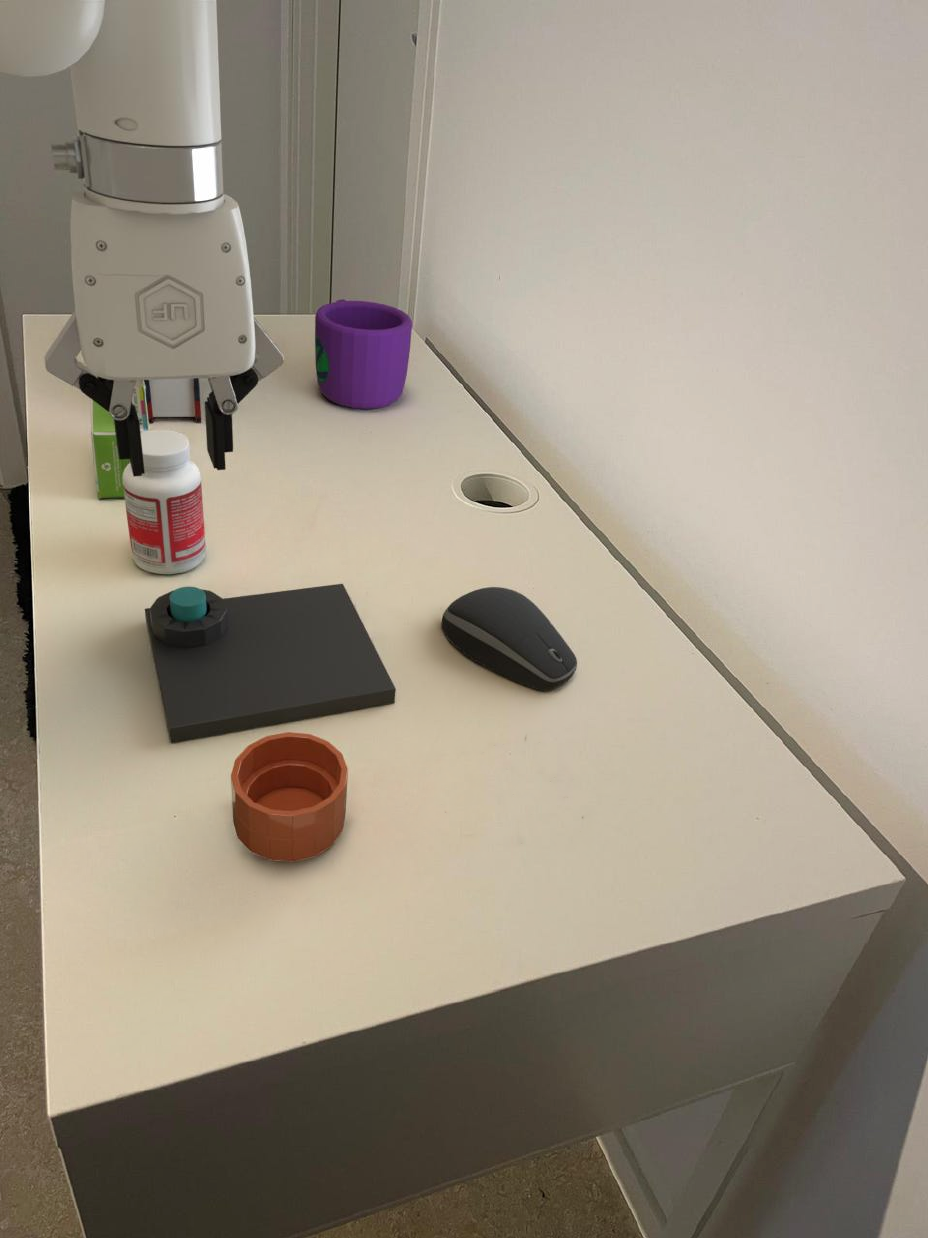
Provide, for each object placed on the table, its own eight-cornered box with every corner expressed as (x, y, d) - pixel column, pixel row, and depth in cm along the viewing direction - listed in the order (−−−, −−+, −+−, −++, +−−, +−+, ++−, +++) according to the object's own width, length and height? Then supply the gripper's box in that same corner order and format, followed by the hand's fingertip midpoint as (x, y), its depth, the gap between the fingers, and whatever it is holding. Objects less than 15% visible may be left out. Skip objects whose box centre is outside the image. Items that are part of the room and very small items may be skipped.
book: (144, 340, 118) (123, 128, 103) (199, 341, 120) (186, 132, 105) (142, 423, 99) (116, 176, 84) (208, 423, 101) (193, 181, 86)
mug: (419, 411, 110) (427, 330, 104) (329, 417, 105) (332, 333, 100) (372, 358, 122) (376, 283, 116) (290, 362, 118) (290, 284, 112)
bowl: (246, 879, 53) (244, 827, 50) (225, 795, 58) (222, 744, 55) (357, 852, 56) (361, 801, 53) (328, 774, 60) (330, 723, 58)
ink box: (97, 451, 93) (78, 315, 84) (151, 449, 94) (138, 315, 86) (97, 500, 85) (77, 356, 77) (157, 498, 86) (143, 356, 78)
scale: (170, 743, 61) (167, 710, 59) (145, 622, 71) (142, 591, 69) (394, 703, 67) (397, 672, 65) (342, 596, 77) (343, 567, 75)
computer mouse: (540, 704, 69) (549, 664, 66) (422, 630, 74) (426, 591, 72) (591, 666, 73) (601, 627, 71) (476, 599, 79) (482, 560, 77)
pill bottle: (206, 538, 82) (199, 425, 75) (206, 576, 77) (199, 459, 71) (133, 539, 80) (120, 424, 74) (129, 578, 76) (114, 458, 69)
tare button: (173, 625, 67) (172, 608, 66) (168, 605, 69) (167, 588, 68) (209, 620, 68) (208, 603, 67) (203, 600, 70) (202, 584, 69)
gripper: (-16, 179, 45) (43, 502, 55) (319, 191, 51) (313, 480, 62) (-15, 148, 50) (38, 447, 61) (288, 163, 56) (287, 432, 67)
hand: (176, 461), depth 61 cm, fingers open, 4 cm apart
